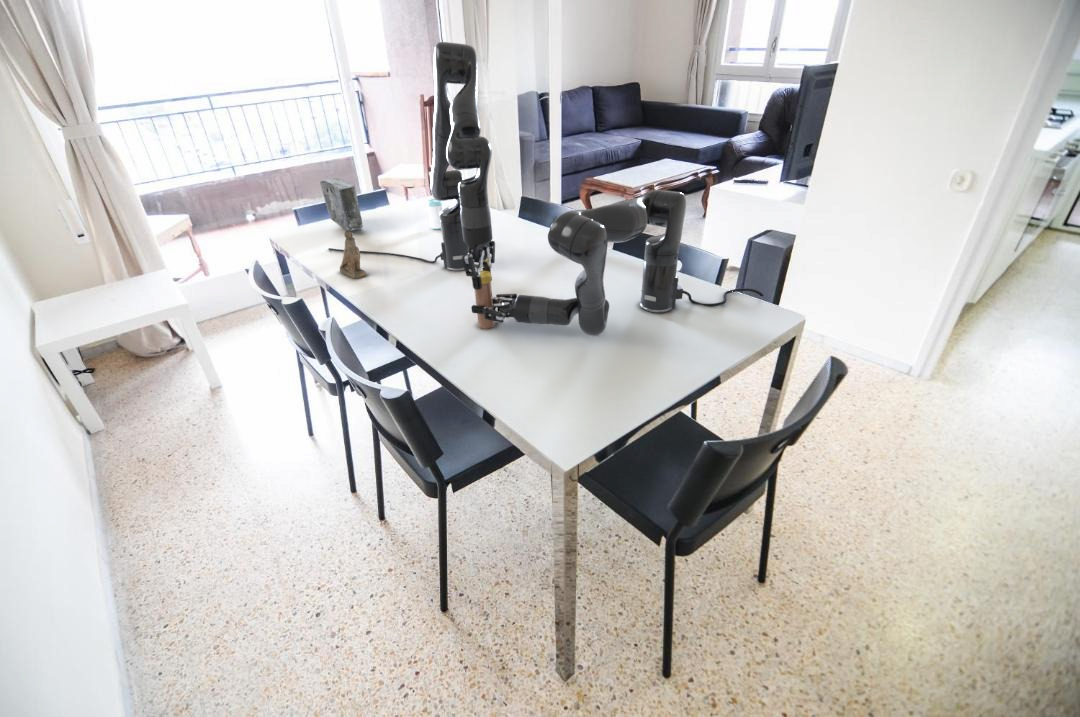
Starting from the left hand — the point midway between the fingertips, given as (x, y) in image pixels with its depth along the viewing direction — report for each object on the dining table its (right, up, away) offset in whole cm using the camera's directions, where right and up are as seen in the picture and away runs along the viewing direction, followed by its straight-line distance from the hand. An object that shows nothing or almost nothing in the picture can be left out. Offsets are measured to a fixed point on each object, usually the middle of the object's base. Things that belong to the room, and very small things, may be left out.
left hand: (482, 284), depth 134 cm
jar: (0, -11, +7) cm, 12 cm away
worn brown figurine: (-52, +11, +44) cm, 69 cm away
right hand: (-2, -5, +4) cm, 7 cm away
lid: (0, +2, -1) cm, 3 cm away
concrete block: (-72, +40, +93) cm, 124 cm away
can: (-30, +39, +89) cm, 101 cm away
